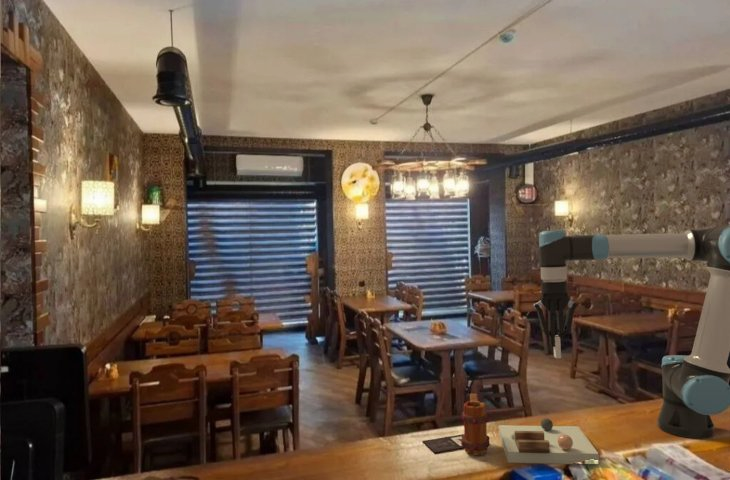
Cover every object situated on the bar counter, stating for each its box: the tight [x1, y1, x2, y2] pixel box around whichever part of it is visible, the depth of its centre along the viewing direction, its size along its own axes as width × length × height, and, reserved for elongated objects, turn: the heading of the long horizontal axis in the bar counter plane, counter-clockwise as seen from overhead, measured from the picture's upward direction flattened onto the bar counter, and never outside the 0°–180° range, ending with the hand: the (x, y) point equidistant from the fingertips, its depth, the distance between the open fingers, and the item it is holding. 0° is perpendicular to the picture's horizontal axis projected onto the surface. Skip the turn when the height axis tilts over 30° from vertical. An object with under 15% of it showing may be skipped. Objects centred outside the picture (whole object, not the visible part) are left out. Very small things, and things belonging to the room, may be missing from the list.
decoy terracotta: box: [558, 434, 573, 450], centre depth 142 cm, size 4×4×4 cm
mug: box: [461, 393, 491, 456], centre depth 151 cm, size 15×8×15 cm, turn 168°
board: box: [498, 424, 600, 465], centre depth 150 cm, size 24×20×3 cm
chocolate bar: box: [421, 433, 465, 455], centre depth 156 cm, size 9×1×18 cm
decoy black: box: [540, 417, 554, 431], centre depth 156 cm, size 4×4×4 cm
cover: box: [514, 431, 550, 453], centre depth 143 cm, size 8×8×3 cm
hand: (557, 357), depth 157 cm, fingers closed
